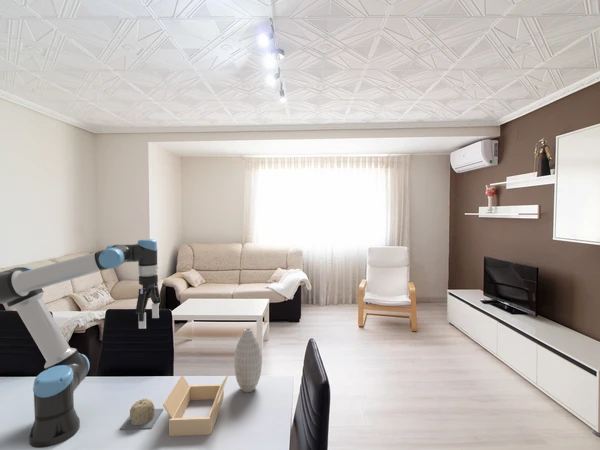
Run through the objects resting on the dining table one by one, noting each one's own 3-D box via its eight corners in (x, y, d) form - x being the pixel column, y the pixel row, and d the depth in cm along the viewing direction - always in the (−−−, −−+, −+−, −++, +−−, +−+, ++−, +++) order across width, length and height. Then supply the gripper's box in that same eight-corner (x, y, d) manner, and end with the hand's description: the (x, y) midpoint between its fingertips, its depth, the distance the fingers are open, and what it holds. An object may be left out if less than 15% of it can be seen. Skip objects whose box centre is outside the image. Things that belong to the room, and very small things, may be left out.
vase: (259, 396, 144) (259, 334, 143) (231, 396, 144) (230, 334, 144) (263, 381, 157) (263, 325, 156) (237, 381, 157) (236, 325, 156)
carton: (162, 436, 119) (161, 406, 118) (183, 398, 143) (182, 373, 143) (218, 434, 120) (217, 404, 119) (229, 397, 144) (229, 372, 144)
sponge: (137, 436, 124) (150, 417, 123) (119, 419, 126) (131, 401, 124) (153, 420, 133) (165, 403, 132) (136, 405, 135) (147, 388, 133)
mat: (119, 429, 123) (119, 428, 123) (134, 410, 135) (134, 409, 135) (151, 428, 123) (151, 427, 123) (163, 409, 135) (163, 408, 135)
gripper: (144, 280, 128) (145, 333, 128) (167, 269, 153) (168, 313, 153) (125, 280, 127) (126, 333, 128) (151, 269, 152) (152, 314, 153)
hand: (149, 322), depth 141 cm, fingers open, 13 cm apart
